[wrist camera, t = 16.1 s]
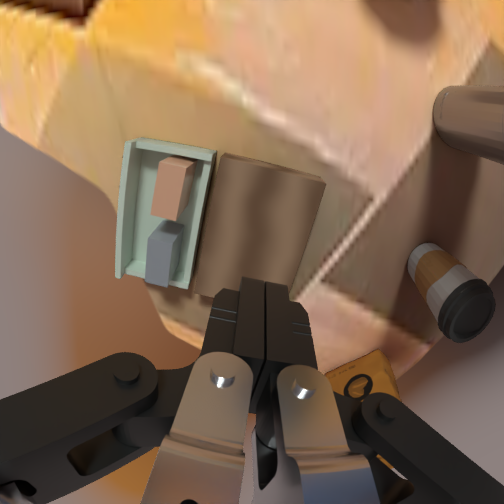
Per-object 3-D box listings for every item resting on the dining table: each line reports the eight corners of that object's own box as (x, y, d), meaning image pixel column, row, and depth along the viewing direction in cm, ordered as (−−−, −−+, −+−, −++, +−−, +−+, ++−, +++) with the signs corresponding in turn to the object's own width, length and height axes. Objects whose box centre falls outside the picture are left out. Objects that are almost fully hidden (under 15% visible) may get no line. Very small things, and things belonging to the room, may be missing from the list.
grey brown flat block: (319, 176, 36) (326, 184, 33) (280, 295, 44) (281, 312, 40) (224, 152, 35) (220, 157, 32) (199, 277, 43) (194, 293, 39)
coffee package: (317, 367, 51) (334, 476, 31) (381, 340, 48) (422, 445, 28) (334, 394, 54) (351, 490, 35) (391, 370, 52) (424, 464, 32)
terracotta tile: (186, 168, 30) (159, 162, 29) (175, 221, 32) (150, 214, 32) (198, 159, 35) (174, 154, 35) (187, 204, 38) (165, 199, 37)
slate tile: (172, 243, 33) (147, 238, 33) (167, 287, 36) (144, 281, 36) (184, 224, 39) (162, 220, 38) (178, 264, 41) (158, 259, 41)
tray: (216, 151, 35) (210, 156, 31) (192, 276, 43) (185, 295, 38) (141, 137, 34) (125, 141, 30) (128, 260, 42) (115, 277, 38)
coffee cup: (414, 292, 43) (455, 355, 30) (391, 259, 41) (436, 323, 27) (452, 260, 41) (503, 314, 27) (432, 224, 38) (490, 275, 25)
